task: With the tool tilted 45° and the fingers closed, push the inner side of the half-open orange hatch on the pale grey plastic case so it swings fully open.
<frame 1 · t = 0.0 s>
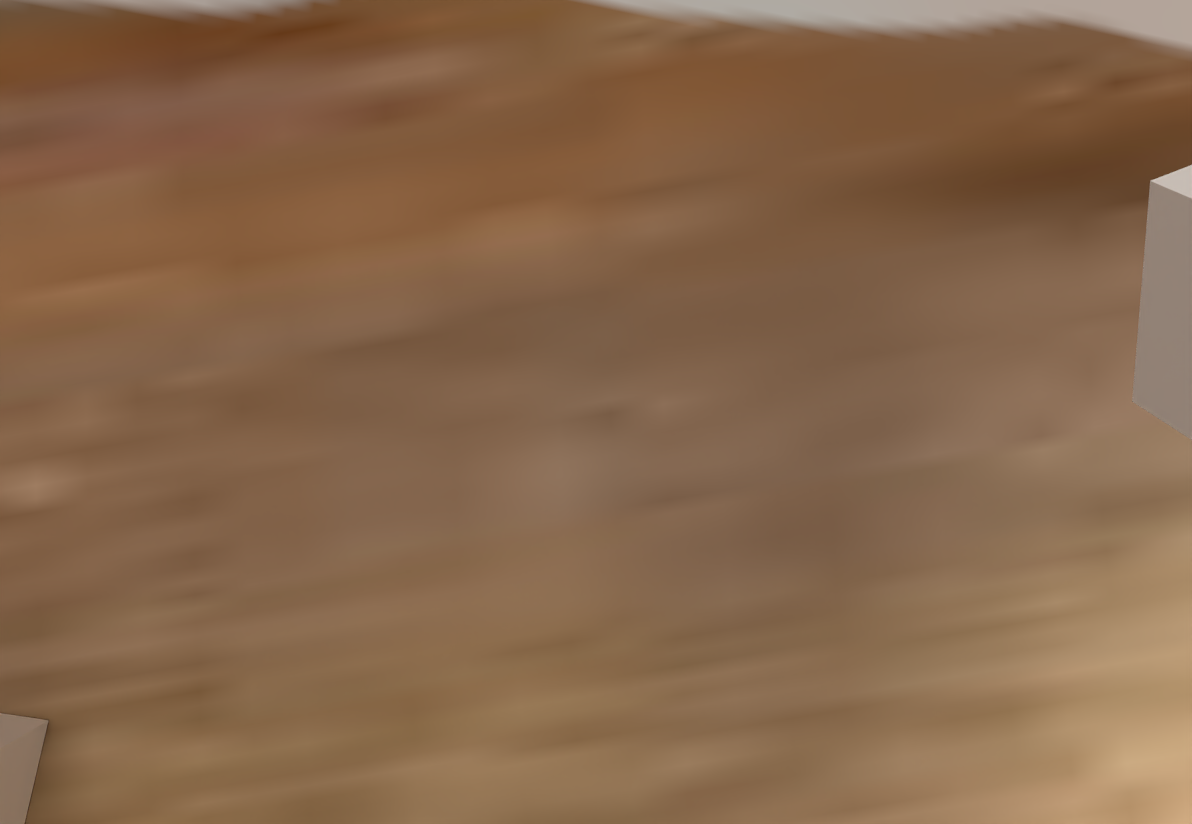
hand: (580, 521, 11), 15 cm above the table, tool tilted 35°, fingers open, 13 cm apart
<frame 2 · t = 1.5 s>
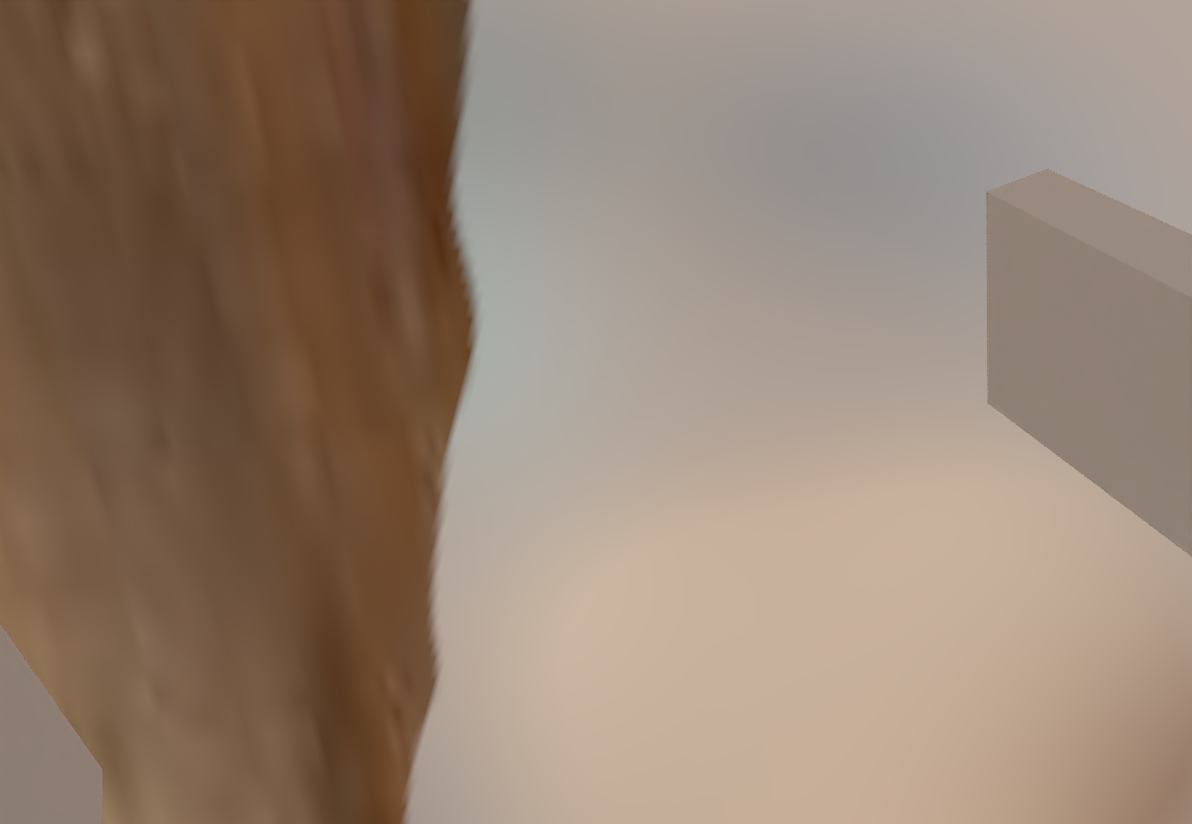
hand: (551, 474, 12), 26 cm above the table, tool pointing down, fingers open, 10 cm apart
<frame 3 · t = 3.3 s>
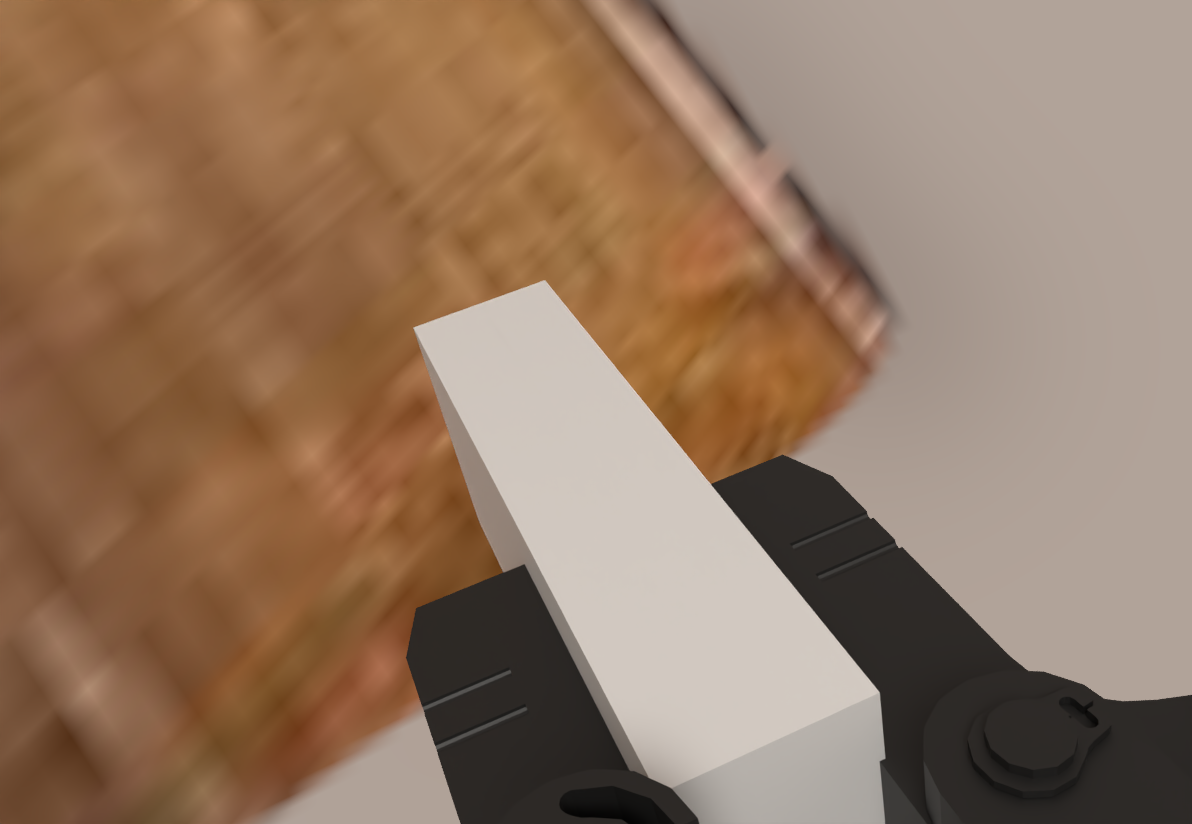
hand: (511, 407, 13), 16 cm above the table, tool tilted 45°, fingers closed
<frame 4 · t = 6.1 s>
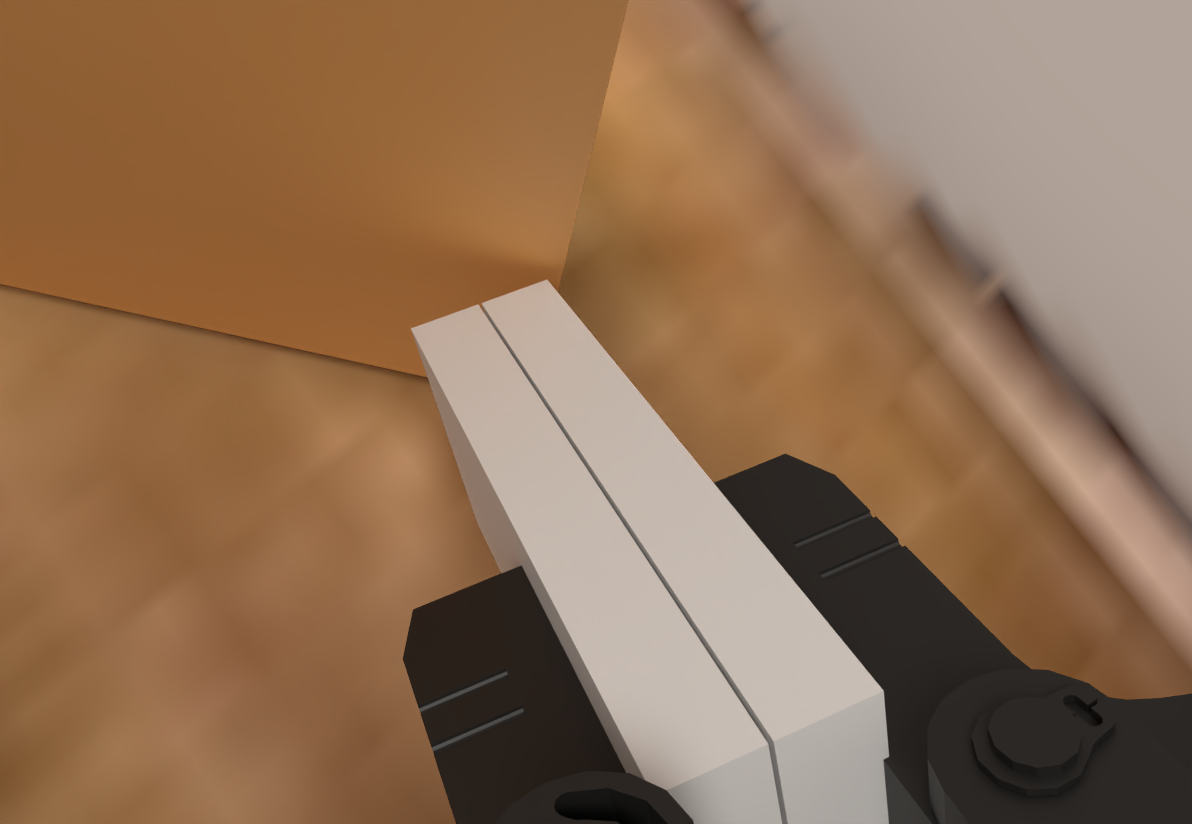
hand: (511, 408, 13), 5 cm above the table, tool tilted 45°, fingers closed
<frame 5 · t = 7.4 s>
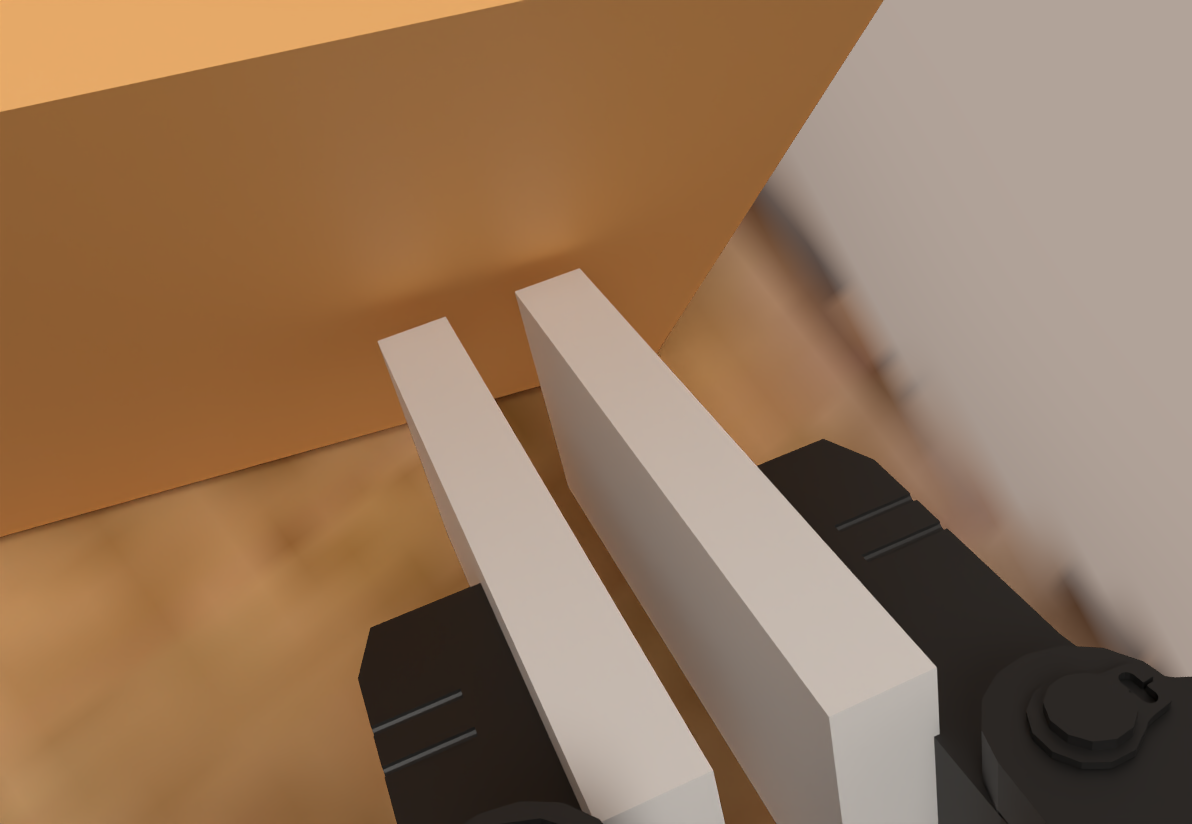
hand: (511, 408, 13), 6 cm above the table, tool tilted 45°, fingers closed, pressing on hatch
hatch: (95, 277, 12), point 6 cm above the table, hinge at 84.5°, touching gripper
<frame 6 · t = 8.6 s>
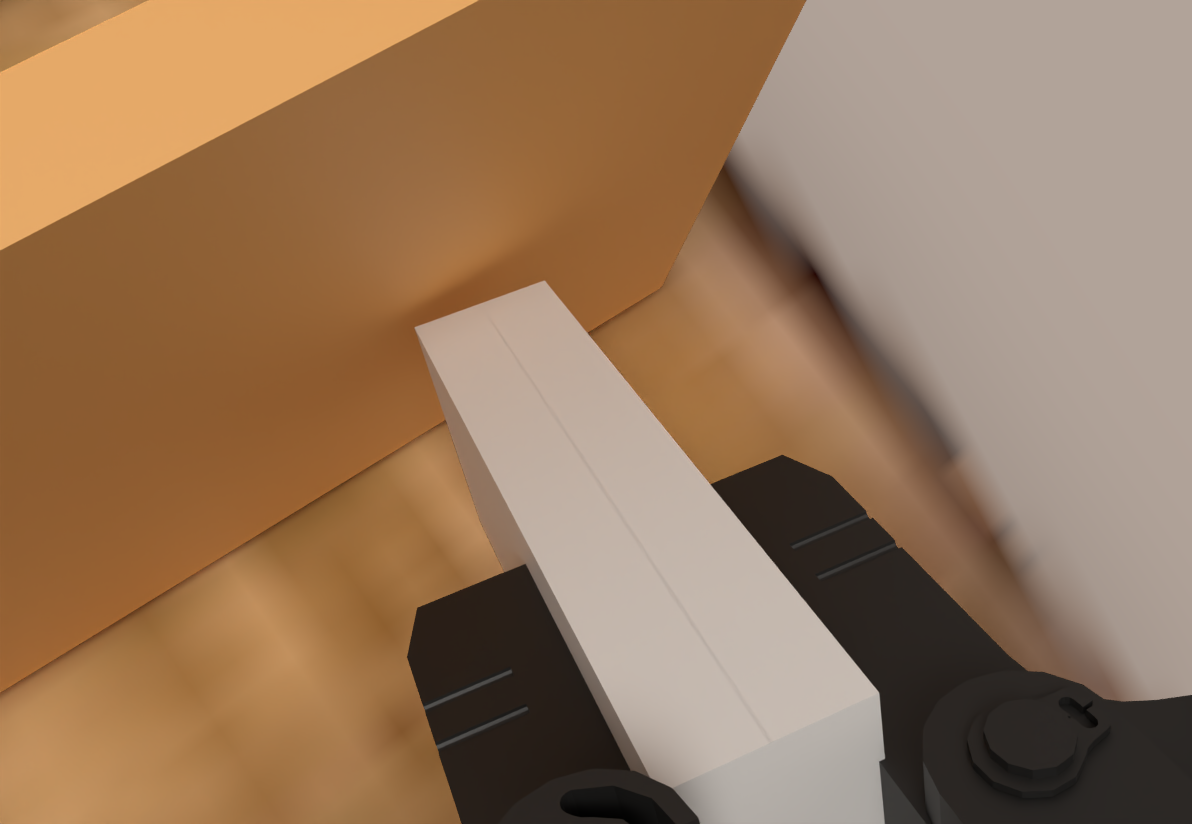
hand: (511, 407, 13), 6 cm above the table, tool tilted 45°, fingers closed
hatch: (145, 352, 12), point 6 cm above the table, hinge at 101.0°, touching gripper
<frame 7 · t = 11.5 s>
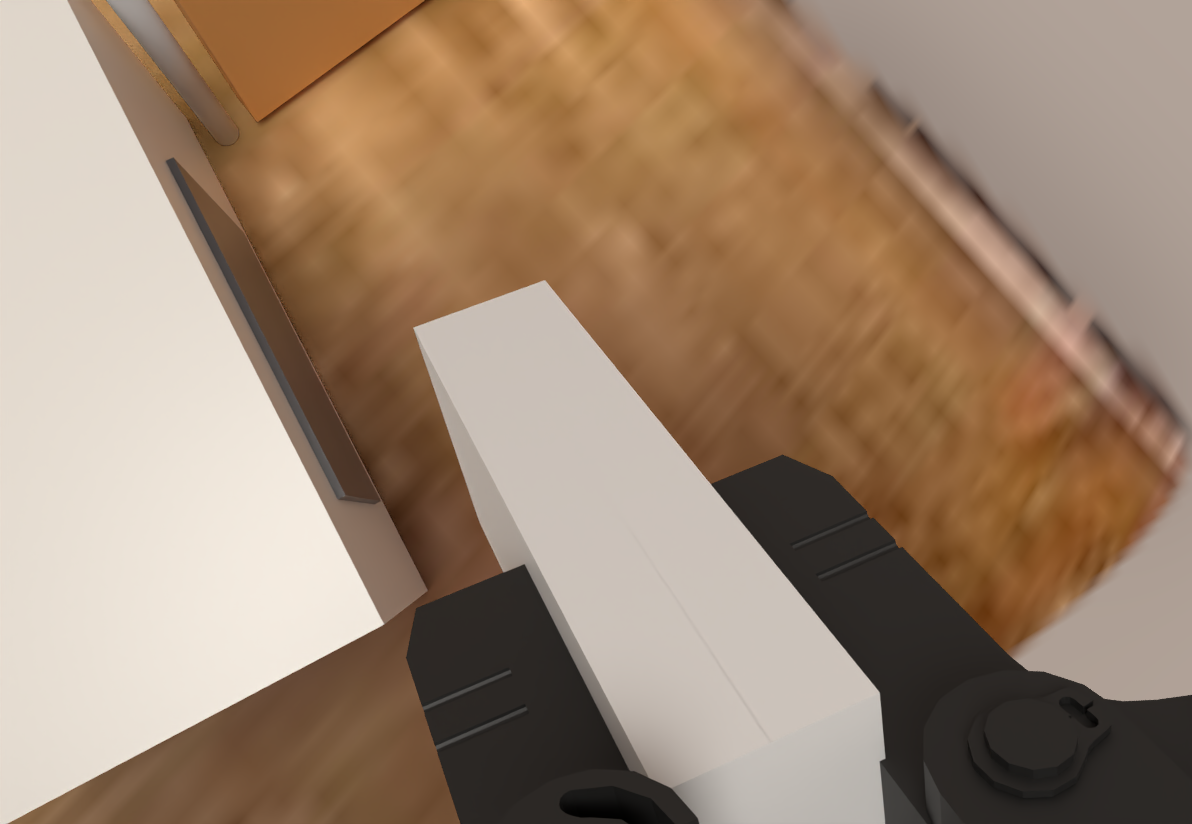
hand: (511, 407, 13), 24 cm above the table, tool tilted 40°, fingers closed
case: (130, 438, 36), on the table
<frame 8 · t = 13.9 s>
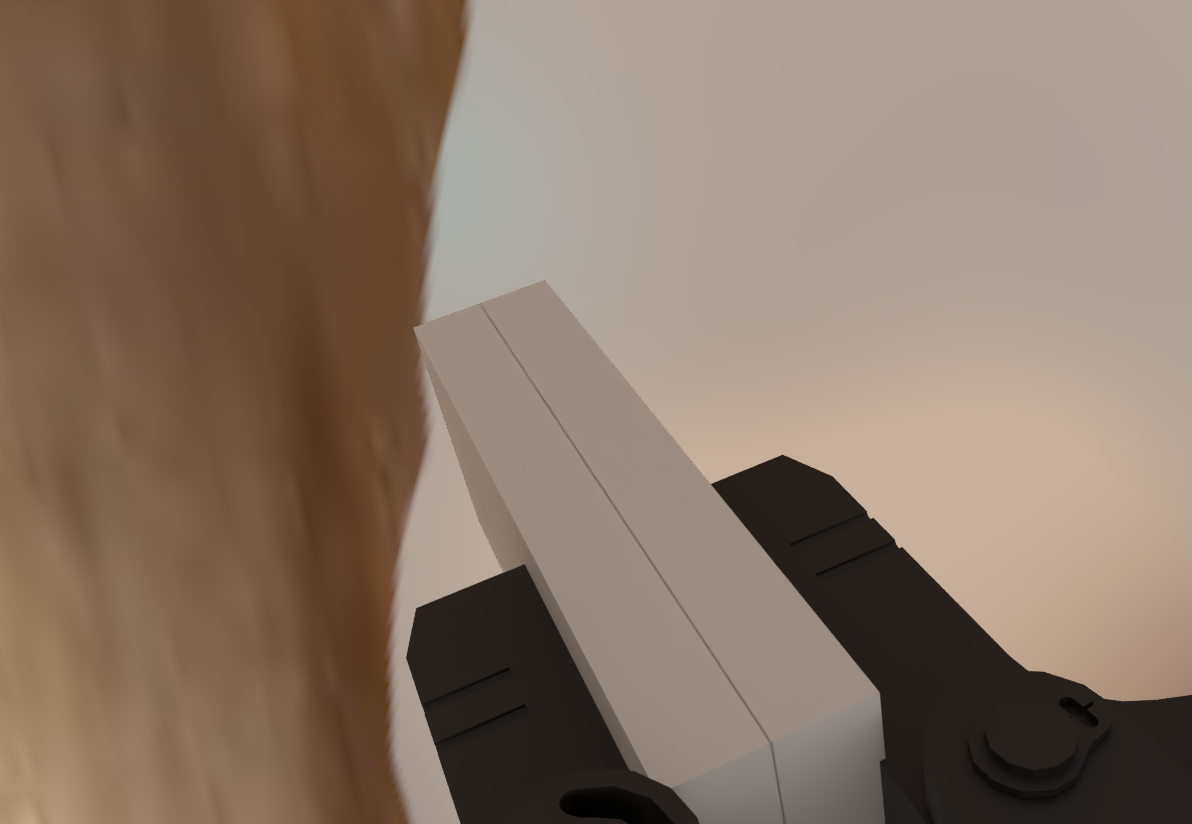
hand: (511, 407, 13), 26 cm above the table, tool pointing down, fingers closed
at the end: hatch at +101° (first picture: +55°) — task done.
